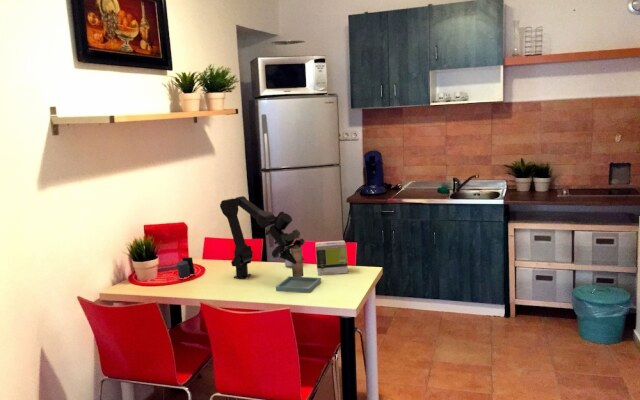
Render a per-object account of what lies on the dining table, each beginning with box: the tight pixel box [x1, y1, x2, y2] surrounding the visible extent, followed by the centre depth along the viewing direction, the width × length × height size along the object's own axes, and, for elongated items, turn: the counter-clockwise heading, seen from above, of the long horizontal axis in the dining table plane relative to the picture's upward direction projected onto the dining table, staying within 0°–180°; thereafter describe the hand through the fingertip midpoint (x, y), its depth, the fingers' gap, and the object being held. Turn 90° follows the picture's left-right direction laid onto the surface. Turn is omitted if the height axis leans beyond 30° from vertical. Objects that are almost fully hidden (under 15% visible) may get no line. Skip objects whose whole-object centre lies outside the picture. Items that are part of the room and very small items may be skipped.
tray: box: [275, 275, 322, 294], centre depth 252 cm, size 16×16×2 cm
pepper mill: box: [291, 246, 304, 277], centre depth 250 cm, size 5×5×13 cm
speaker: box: [176, 256, 196, 278], centre depth 275 cm, size 8×6×10 cm
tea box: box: [315, 240, 349, 276], centre depth 272 cm, size 15×10×15 cm, turn 92°
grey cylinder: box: [284, 241, 295, 269], centre depth 286 cm, size 9×8×12 cm
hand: (299, 262), depth 250 cm, fingers closed on pepper mill, 5 cm apart
